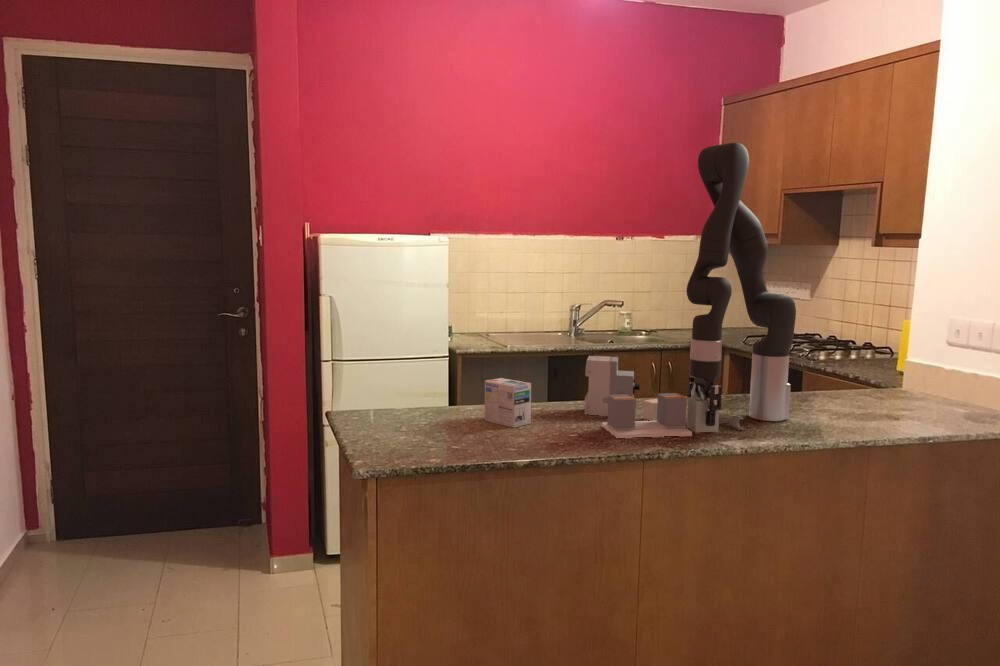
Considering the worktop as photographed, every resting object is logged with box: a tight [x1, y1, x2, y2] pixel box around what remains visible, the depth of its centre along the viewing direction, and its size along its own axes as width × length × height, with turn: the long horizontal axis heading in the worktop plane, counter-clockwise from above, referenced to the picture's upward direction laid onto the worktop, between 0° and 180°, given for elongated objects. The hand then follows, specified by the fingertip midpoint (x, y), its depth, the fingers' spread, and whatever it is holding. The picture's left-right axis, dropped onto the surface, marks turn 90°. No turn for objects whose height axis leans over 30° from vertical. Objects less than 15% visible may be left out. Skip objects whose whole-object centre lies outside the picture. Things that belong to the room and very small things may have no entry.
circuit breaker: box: [584, 355, 641, 417], centre depth 207 cm, size 8×14×15 cm, turn 78°
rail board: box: [601, 392, 693, 439], centre depth 189 cm, size 19×12×9 cm, turn 100°
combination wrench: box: [719, 413, 745, 431], centre depth 199 cm, size 4×1×20 cm
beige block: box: [643, 398, 658, 421], centre depth 201 cm, size 4×4×5 cm
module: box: [686, 397, 720, 434], centre depth 190 cm, size 6×5×8 cm
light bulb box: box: [484, 377, 532, 428], centre depth 196 cm, size 11×7×11 cm, turn 47°
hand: (702, 421), depth 191 cm, fingers open, 8 cm apart
